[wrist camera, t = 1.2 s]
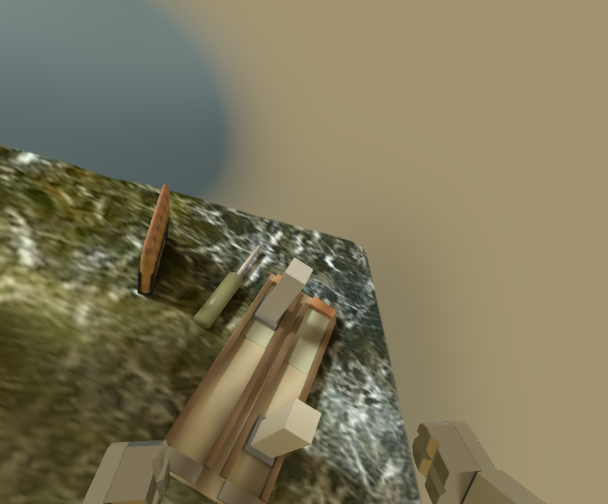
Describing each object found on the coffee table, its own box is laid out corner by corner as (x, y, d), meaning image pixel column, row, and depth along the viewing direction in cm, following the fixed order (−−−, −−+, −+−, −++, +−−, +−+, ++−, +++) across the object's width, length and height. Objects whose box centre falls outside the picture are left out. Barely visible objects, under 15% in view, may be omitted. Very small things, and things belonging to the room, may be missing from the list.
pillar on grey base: (252, 317, 46) (280, 273, 38) (265, 297, 49) (293, 253, 41) (273, 330, 46) (306, 289, 38) (284, 310, 49) (317, 267, 41)
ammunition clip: (151, 295, 44) (156, 244, 35) (137, 293, 43) (138, 240, 35) (167, 236, 51) (174, 181, 42) (154, 234, 50) (159, 177, 41)
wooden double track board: (148, 462, 34) (149, 460, 32) (269, 277, 54) (274, 269, 52) (253, 525, 34) (260, 526, 32) (334, 317, 54) (341, 311, 52)
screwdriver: (206, 331, 44) (212, 325, 43) (191, 320, 44) (196, 313, 42) (262, 255, 56) (268, 247, 54) (250, 246, 56) (256, 238, 54)
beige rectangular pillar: (242, 450, 36) (277, 432, 28) (258, 416, 39) (295, 390, 30) (269, 466, 36) (312, 453, 28) (283, 431, 39) (326, 409, 30)
